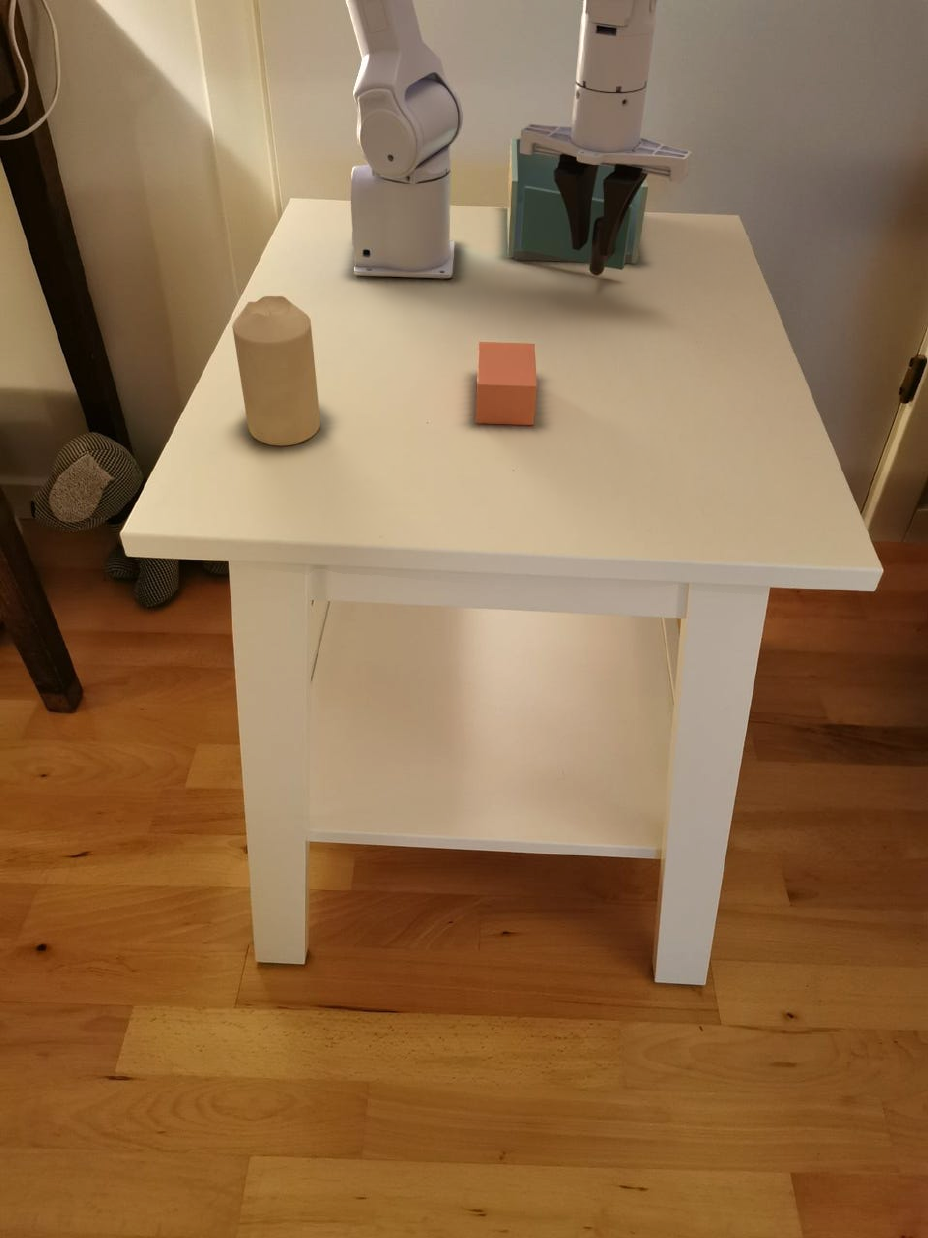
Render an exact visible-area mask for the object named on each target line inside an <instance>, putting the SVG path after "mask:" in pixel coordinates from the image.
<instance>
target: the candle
mask: <svg viewBox="0 0 928 1238" xmlns="http://www.w3.org/2000/svg"><path fill="white" fill-rule="evenodd" d="M231 327H232V334H233V340H234V346H235V353H236V359H237V365H238V372H239V378H240V386H241V391H242V397H243V404H244V410H245V416H246V421H247V427H248V428H247V429H248V430H249V433H250V435H251V436H252V438H254V439H256V440H257V441H258V442H261V443H262V444H263V443H264V444H267V445H272V446H291V445H297V444H300V443H302V442H305V441H307V440H309V439H311V438H312V437H314V435H316V433H318V431H319V429H320V425H321V416H320V403H319V392H318V383H317V370H316V363H315V361H316V360H315V352H314V340H313V332H312V331H313V329H312V322H311V318H310V317H309V316H308V315H307V313H305V312H304V311H303V310H302V309H301V308H299V307H298V306H297V305H296V304H294V303H292V302H291V301H290V300H289V299H288V298H286V297H285V296H283V295H265V296H262V297H260V298H259V299H258V300H257V301H248V302H247V303H246V305H245V306H244V307H243V309H242V310H241V312H240V313H238V316H236V318H235V319H234V320H233V322H232V325H231Z"/></svg>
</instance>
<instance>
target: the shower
mask: <svg viewBox="0 0 928 1238" xmlns="http://www.w3.org/2000/svg"><path fill="white" fill-rule="evenodd" d="M520 137H521V136H513V137H510V144H509V145H510V147H509V165H508V166H509V168H508V187H507V205H506V206H507V207H506V213H507V214H506V217H507V218H506V219H507V222H506V223H507V224H506V225H507V231H506V232H507V258H513V260H514V261H539V262H540V261H541V262H568V263H569V262H571V263H576V262H577V263H580V262H579V261H575V260H570V259H565V258H560V257H555V256H550V255H545V254H540V253H535V252H530V251H525V250H521V249H520V246H521V230H522V213H523V197H524V187H525V186H532V187H537V188H543V189H548V190H554V191H559V189H558V187H557V185H556V183H555V181H554V170H555V169H556V168H557V167H558V163H559V157H554V156H548V155H543V154H537V153H533V154H531V155H527V154H521V153H520ZM611 172H614V168H613V167H608V166H603V165H599V166H598V171H597V175H596V180H595V185H594V191H593V197H592V198H598V199H603V200H604V189H603V182H604V179H605V178H606V177H607V176H608V175H609V174H610V173H611ZM648 191H649V185H648V182H647V178H646V179H645V180H644V182H643V183H642V185H641V187H640V188H639V190H638V192H637V193H636V195H635V197H634V199H633V201H632V202H631V205H633V207H632V214H631V221H630V228H629V235H628V243H627V250H626V257H625V264H634V265H636V264H638V258H639V251H640V245H641V238H642V231H643V225H644V219H645V213H646V204H647V198H648ZM559 192H560V191H559Z"/></svg>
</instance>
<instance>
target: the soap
mask: <svg viewBox="0 0 928 1238" xmlns="http://www.w3.org/2000/svg"><path fill="white" fill-rule="evenodd" d="M536 359H537V358H536V345H535V343H532V342H531V343H527V342H500V341H499V342H498V341H497V342H496V341H491V342H490V341H479V342H478V350H477V377H476V378H477V381H476V411H475V412H476V413H475V414H476V415H475V423H476V424H484V425H485V424H486V425H487V424H489V425H516V426H517V425H518V426H519V425H521V426H522V425H523V426H534V424H535V416H536V415H535V413H536V402H537V401H536V400H537V390H538V379H537V363H536Z"/></svg>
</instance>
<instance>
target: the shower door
mask: <svg viewBox="0 0 928 1238" xmlns="http://www.w3.org/2000/svg"><path fill="white" fill-rule="evenodd" d="M632 207H633V205H631V204H630V206H629V208H628V210H627V213H626V215H625V217H624V219H623V222H622V224H621V227H620V230H619V233H618V236H617V239H616V242H615V246H614V249H613V250H612V251H611V252H610V253H609V255H608V256H603V255H599V248H600V239H601V233H602V226H603V218H604V200H603V199H598V198H592V203H591V216H590V230H589V236H588V241H587V243H586V244H585V245H584V246H583V247H582V248H581V249H580V250H575V249H573V248H572V237H571V230H570V225H569V220H568V215H567V211H566V208H565V204H564V202H563V199H562V196H561V194H560V192H559V191H554V190H548V189H543V188H537V187H532V186H525V187H524V197H523V213H522V230H521V246H520V249H521V250H525V251H530V252H535V253H540V254H545V255H550V256H555V257H560V258H565V259H570V260H575V261H579V262H578V263H585V264H588V270H589V272H590V275H592V276H594V277H595V276H596V277H597V276H600V275H602V274H603V273H604V271H605V268H609V269H616V270H619V271H623V270H624V268H625V265H626V263H625V257H626V250H627V243H628V235H629V228H630V221H631V214H632Z"/></svg>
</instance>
